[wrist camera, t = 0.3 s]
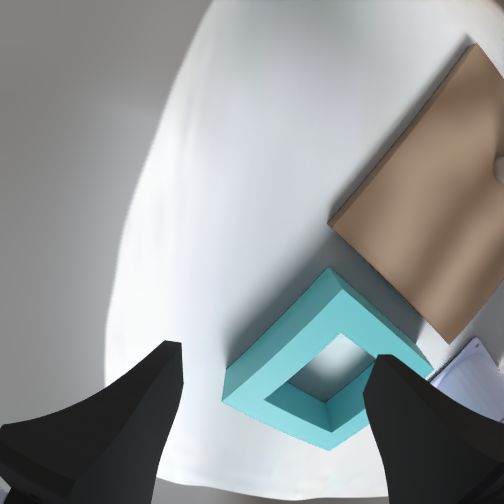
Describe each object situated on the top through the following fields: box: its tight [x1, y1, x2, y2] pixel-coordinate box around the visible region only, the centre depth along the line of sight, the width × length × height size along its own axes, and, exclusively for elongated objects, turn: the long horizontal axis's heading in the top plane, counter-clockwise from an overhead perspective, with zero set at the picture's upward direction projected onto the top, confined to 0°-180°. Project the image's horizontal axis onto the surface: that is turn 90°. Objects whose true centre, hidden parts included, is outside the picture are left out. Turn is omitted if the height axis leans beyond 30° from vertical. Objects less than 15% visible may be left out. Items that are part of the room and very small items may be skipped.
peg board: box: [327, 43, 504, 344], centre depth 14 cm, size 15×19×6 cm
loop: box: [222, 267, 434, 451], centre depth 19 cm, size 11×11×4 cm
